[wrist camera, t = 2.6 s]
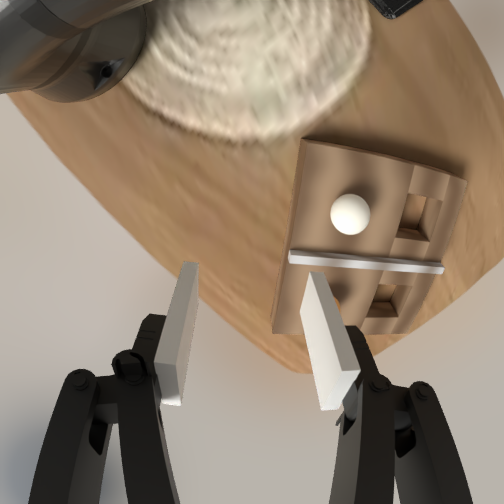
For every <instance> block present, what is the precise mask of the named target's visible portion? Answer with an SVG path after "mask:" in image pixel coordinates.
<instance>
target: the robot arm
mask: <svg viewBox="0 0 504 504" xmlns="http://www.w3.org/2000/svg"><path fill="white" fill-rule="evenodd" d="M151 1H153V0H0V94H3V93H10V92H17V91H25V90H31V91H33V92H35V93H37V94H39V95H41V96H43V97H45V98H47V99H49V100H52V101H55V102H62V103H70V102H80V101H85V100H89V99H92V98H94V97H97V96H99V95H101V94H103V93H104V92H106V91H107V90H109V89H110V88H112V87H113V86H114V85H115V84H116V83H118V82H119V81H120V80H121V79H122V78H123V77H124V75H125V74H126V73H127V72H128V71H129V69H130V68H131V66H132V65H133V64H134V62H135V60H136V58H137V57H138V55H139V52H140V50H141V48H142V45H143V42H144V38H145V33H146V14H145V10H144V7H143V4H145V3H148V2H151ZM198 271H199V263H196V262H184V263H183V266H182V269H181V272H180V275H179V278H178V281H177V284H176V287H175V291H174V294H173V297H172V300H171V304H170V307H169V310H168V314H167V316H165V315H156V314H149V315H148V316H147V317H146V318H145V319H144V320H143V321H142V323H141V326H140V329H139V332H138V334H137V338H136V340H135V342H134V345H133V348H132V349H129V350H124V351H121V352H120V353H118V354H116V356H115V357H114V358H113V360H112V364H111V365H112V367H113V370H114V373H115V374H114V375H110V376H100V377H95V375H94V374H93V373H92V372H90V371H88V370H86V369H77V370H74V371H72V372H71V373H69V374H68V376H67V377H66V379H65V381H64V383H63V386H62V389H61V391H60V394H59V397H58V399H57V402H56V405H55V408H54V411H53V414H52V417H51V420H50V422H49V426H48V429H47V432H46V435H45V438H44V442H43V445H42V448H41V452H40V455H39V459H38V463H37V467H36V471H35V475H34V479H33V483H32V488H31V492H30V497H29V503H28V504H99V498H100V491H101V484H102V478H103V473H104V467H105V461H106V456H107V450H108V445H109V440H110V435H111V430H112V426H113V424H116V423H118V425H119V437H120V448H121V457H122V466H123V473H124V480H125V487H126V493H127V498H128V504H180V501H179V497H178V493H177V489H176V485H175V481H174V477H173V472H172V468H171V464H170V459H169V455H168V449H167V445H166V439H165V434H164V428H163V422H162V416H161V411H160V402H161V398H162V402H163V404H170V405H178V406H181V404H182V398H183V390H184V384H185V378H186V372H187V365H188V360H189V354H190V348H191V342H192V337H193V331H194V325H195V320H196V314H197V309H198ZM300 315H301V320H302V324H303V328H304V333H305V337H306V342H307V346H308V351H309V355H310V360H311V364H312V369H313V374H314V378H315V383H316V387H317V392H318V397H319V402H320V407H321V410H331V409H332V410H333V409H338V408H339V407H340V405H341V403H342V402H343V406H344V411H343V413H342V414H341V416H340V417H339V419H338V420H337V422H336V426H338V424H339V423H340V432H339V441H338V448H337V457H336V464H335V470H334V477H333V483H332V489H331V495H330V500H329V504H393V494H394V476H395V479H396V484H397V489H398V493H399V499H400V503H401V504H473V502H472V498H471V494H470V490H469V487H468V483H467V480H466V476H465V473H464V470H463V467H462V463H461V461H460V457H459V454H458V451H457V448H456V445H455V443H454V440H453V437H452V435H451V432H450V429H449V426H448V423H447V421H446V418H445V416H444V413H443V410H442V408H441V405H440V403H439V401H438V398H437V396H436V393H435V391H434V390H433V388H432V387H431V386H430V385H429V384H428V383H425V382H423V381H417V382H414V383H413V384H412V385H411V386H410V387H409V388H406V387H401V386H395V385H392V384H391V382H390V381H389V379H388V378H386V377H385V376H384V375H381V374H380V373H379V371H378V369H377V366H376V364H375V361H374V359H373V356H372V354H371V351H370V350H369V346H368V344H367V343H366V339H365V337H364V335H363V333H362V332H361V330H360V329H359V328H358V327H357V326H356V325H344V323H343V320H342V317H341V315H340V312H339V310H338V307H337V304H336V302H335V299H334V297H333V294H332V292H331V289H330V287H329V284H328V282H327V279H326V277H325V275H324V272H313V271H310V272H309V277H308V281H307V285H306V289H305V293H304V297H303V301H302V304H301V308H300Z"/></svg>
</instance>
